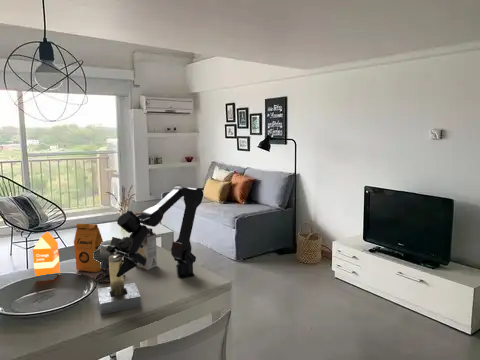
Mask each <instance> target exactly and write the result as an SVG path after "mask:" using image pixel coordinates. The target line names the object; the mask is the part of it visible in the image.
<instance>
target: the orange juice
mask: <svg viewBox="0 0 480 360" xmlns="http://www.w3.org/2000/svg"><path fill="white" fill-rule="evenodd" d="M58 245H59V244H58V241H57V240H56V239H55V238H54V236H52V234H51V233H50V232H49V231H46V232H45V233H43V234H42V235H41V236H40V238H39V240H38V241H37V243H36V244H35V246H34V247H33V249H32V257H33V259H32V260H33V269H34V275H35V276H39V275H46V274H54V273H59V272H60V273H61V267H60V255H59V246H58ZM35 276H34V277H35Z"/></svg>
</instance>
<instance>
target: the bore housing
mask: <svg viewBox="0 0 480 360" xmlns="http://www.w3.org/2000/svg"><path fill="white" fill-rule="evenodd" d="M141 296H142V295H141V294H140V291H139V289H138V286H137V284H136V282H130V283H124V293H123V294H120V295H112V294H111V286H107V287H101V288H97V299H98V307H99V312H100V313H99V314H100V315H106V314H111V313H116V312H121V311H126V310H131V309H136V308H141V307H142V298H141Z"/></svg>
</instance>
